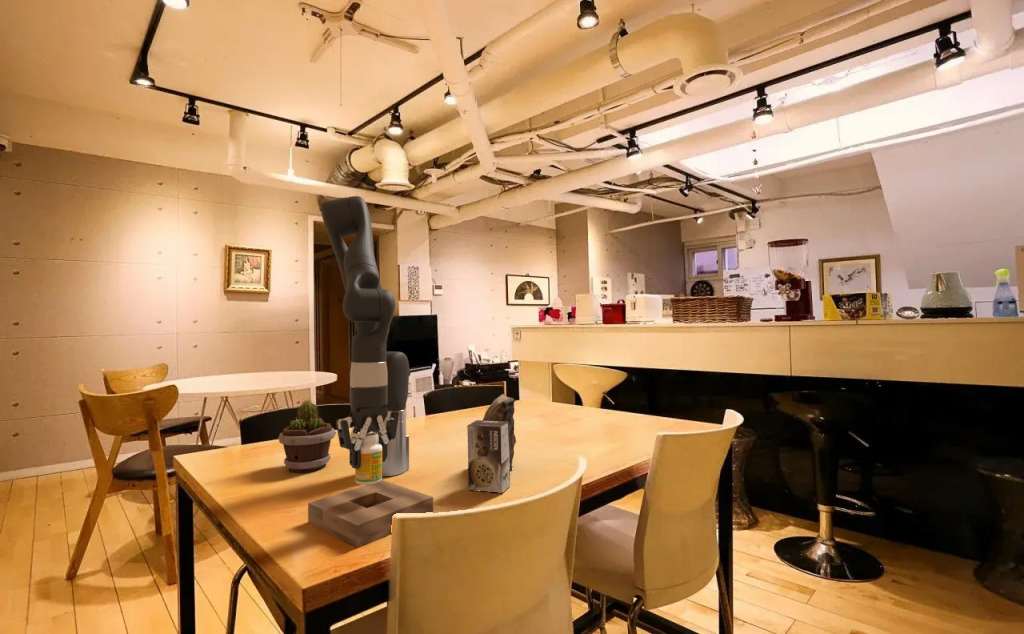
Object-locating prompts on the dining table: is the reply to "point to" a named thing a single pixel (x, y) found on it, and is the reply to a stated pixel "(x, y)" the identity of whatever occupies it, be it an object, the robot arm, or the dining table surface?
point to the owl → (503, 418)
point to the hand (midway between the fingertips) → (368, 464)
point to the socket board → (366, 511)
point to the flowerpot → (307, 441)
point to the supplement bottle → (369, 461)
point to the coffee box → (488, 456)
